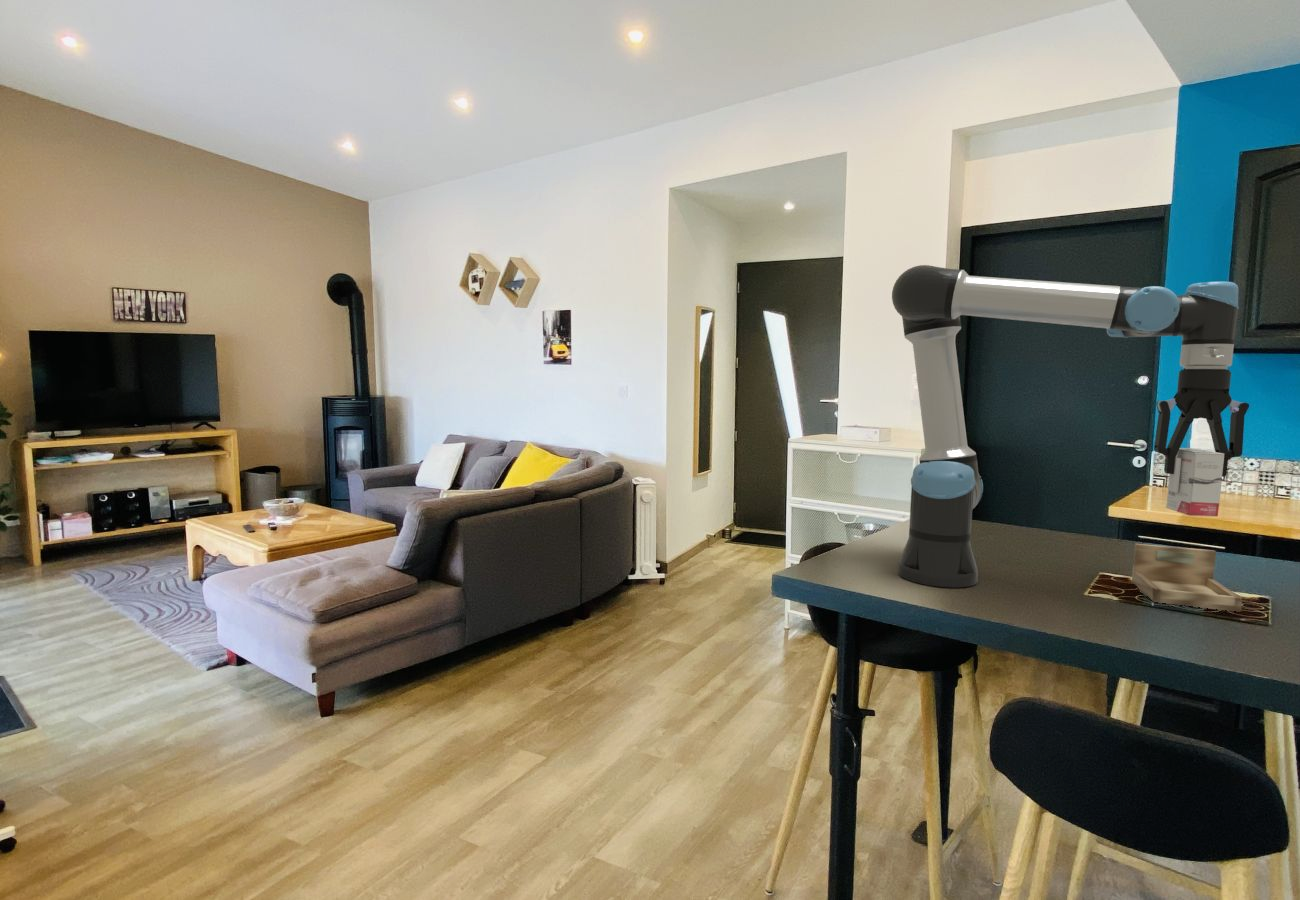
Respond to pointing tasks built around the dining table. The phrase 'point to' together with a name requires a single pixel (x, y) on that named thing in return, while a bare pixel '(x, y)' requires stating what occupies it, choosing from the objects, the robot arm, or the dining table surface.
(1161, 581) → the drawer
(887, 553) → the dining table surface
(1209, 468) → the ink box
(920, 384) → the robot arm
